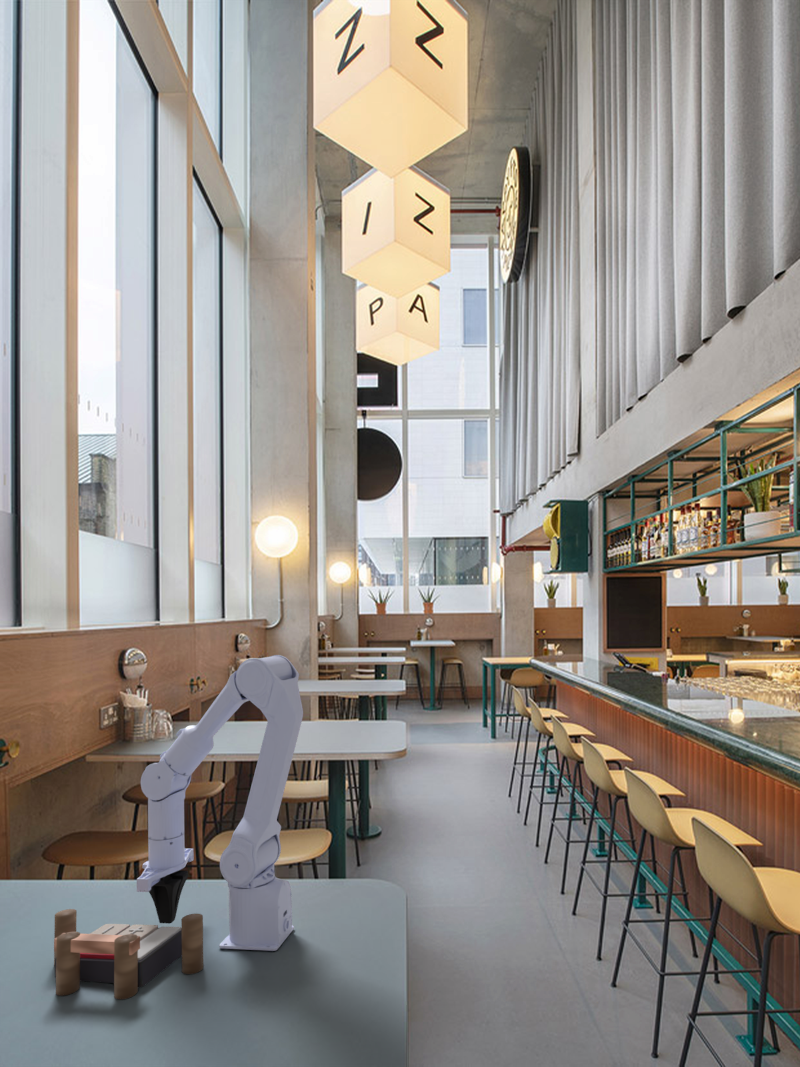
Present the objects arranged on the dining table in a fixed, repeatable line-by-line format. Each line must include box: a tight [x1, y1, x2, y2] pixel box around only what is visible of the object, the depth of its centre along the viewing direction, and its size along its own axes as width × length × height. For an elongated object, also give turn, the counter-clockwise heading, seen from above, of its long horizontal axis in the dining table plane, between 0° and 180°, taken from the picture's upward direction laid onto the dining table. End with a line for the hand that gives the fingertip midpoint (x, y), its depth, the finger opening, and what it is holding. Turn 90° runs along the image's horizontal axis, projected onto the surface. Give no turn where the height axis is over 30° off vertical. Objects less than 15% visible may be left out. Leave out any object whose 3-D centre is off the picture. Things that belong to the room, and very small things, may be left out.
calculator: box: [54, 923, 182, 988], centre depth 103 cm, size 11×4×15 cm
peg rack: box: [53, 908, 204, 1000], centre depth 99 cm, size 24×10×7 cm, turn 79°
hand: (167, 921), depth 113 cm, fingers closed
